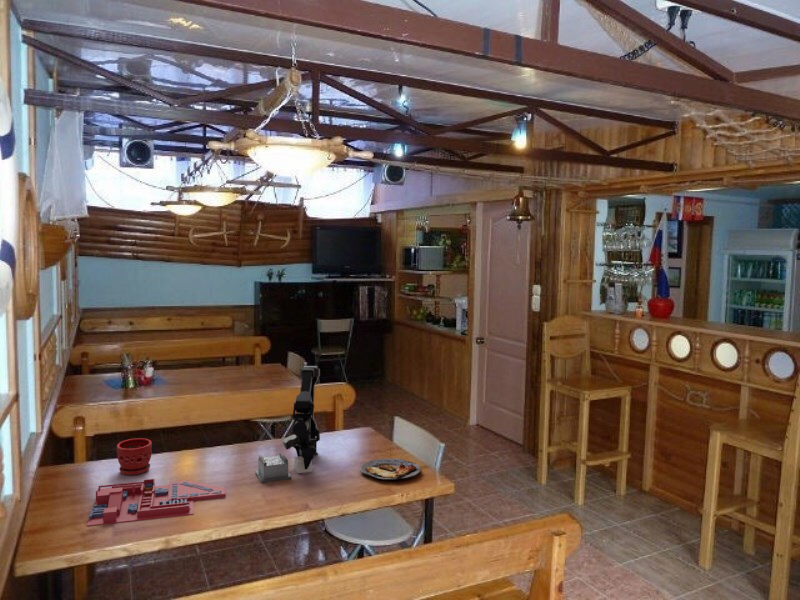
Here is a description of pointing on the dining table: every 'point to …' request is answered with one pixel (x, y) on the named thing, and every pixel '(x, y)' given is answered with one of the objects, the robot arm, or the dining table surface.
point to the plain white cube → (301, 465)
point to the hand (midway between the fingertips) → (303, 465)
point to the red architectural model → (148, 501)
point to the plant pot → (134, 456)
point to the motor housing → (272, 468)
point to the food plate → (390, 469)
